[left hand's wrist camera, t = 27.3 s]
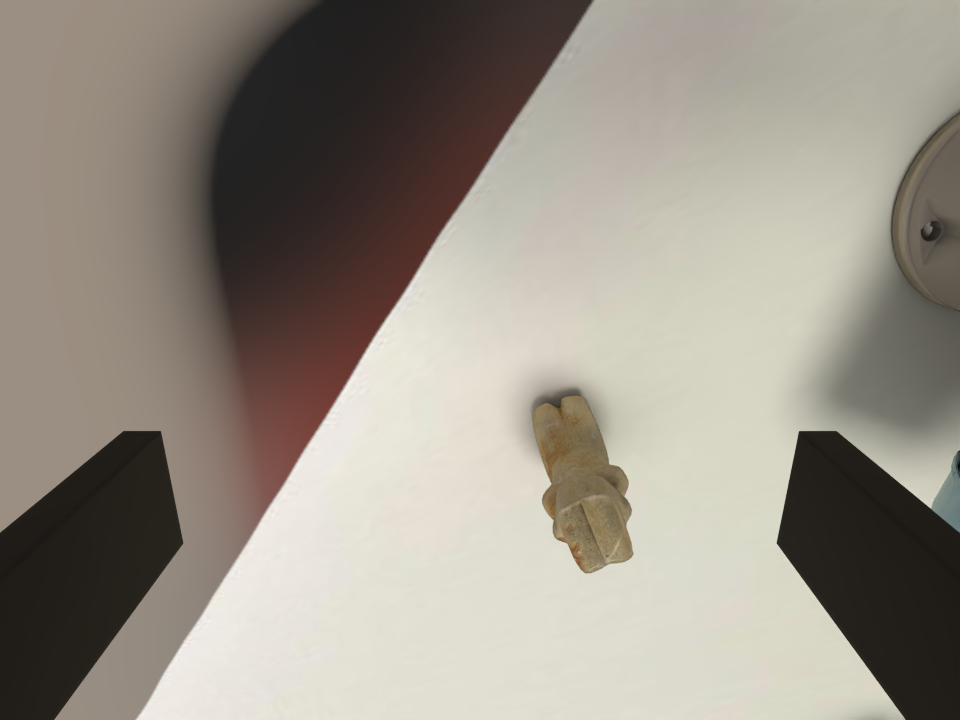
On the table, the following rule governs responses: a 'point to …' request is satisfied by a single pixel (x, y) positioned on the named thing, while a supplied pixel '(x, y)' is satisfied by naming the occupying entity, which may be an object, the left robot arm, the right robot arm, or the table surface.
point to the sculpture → (582, 485)
